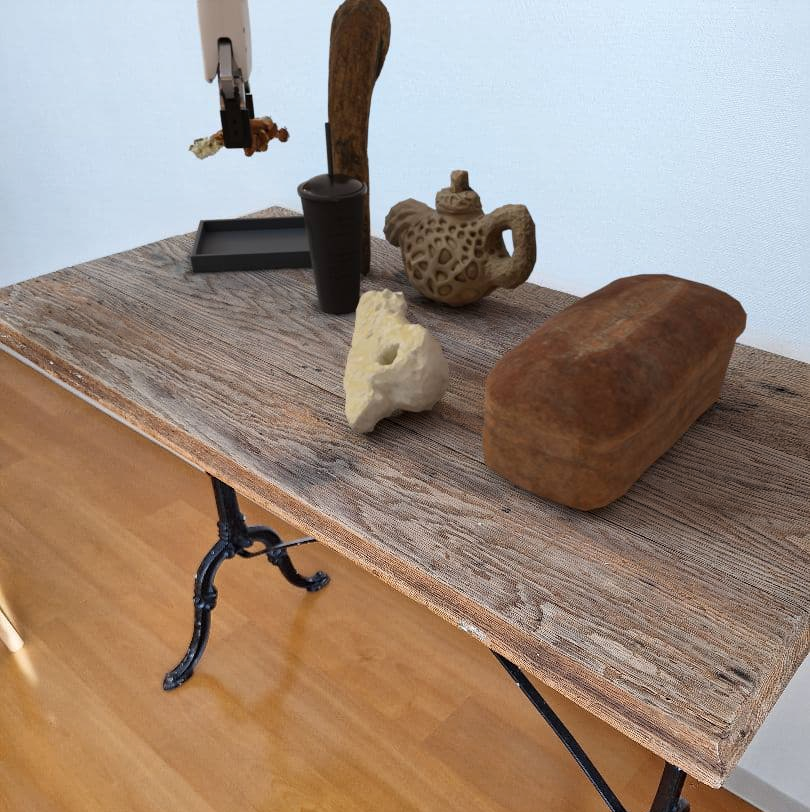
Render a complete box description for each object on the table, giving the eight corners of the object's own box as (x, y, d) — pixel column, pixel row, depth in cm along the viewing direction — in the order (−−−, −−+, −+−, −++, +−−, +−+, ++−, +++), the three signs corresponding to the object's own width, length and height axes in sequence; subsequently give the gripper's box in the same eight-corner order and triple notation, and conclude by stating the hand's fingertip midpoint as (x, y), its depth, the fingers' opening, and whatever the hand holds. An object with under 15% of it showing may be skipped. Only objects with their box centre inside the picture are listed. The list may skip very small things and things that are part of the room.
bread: (740, 398, 80) (775, 277, 72) (600, 541, 63) (627, 403, 55) (613, 358, 86) (632, 243, 79) (456, 477, 70) (461, 346, 62)
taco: (180, 152, 96) (174, 118, 94) (267, 136, 102) (264, 104, 100) (208, 165, 92) (203, 130, 90) (297, 147, 98) (295, 115, 96)
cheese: (433, 470, 74) (506, 328, 75) (378, 432, 69) (456, 281, 71) (343, 446, 86) (407, 323, 87) (291, 411, 81) (360, 282, 82)
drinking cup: (358, 322, 94) (349, 134, 81) (297, 314, 96) (279, 129, 83) (379, 296, 99) (374, 116, 87) (321, 289, 101) (307, 112, 88)
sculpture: (396, 262, 108) (392, -8, 89) (389, 284, 102) (383, 0, 83) (345, 261, 109) (330, -9, 89) (335, 282, 103) (317, 0, 84)
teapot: (359, 294, 100) (353, 164, 90) (419, 267, 107) (419, 143, 97) (500, 344, 89) (511, 203, 80) (557, 310, 96) (573, 176, 86)
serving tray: (193, 272, 106) (190, 256, 105) (202, 234, 117) (199, 220, 115) (324, 266, 107) (323, 250, 106) (321, 229, 118) (320, 214, 117)
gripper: (191, -49, 92) (215, 122, 104) (171, -35, 79) (201, 160, 90) (258, -50, 93) (274, 121, 104) (249, -36, 79) (269, 158, 91)
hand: (240, 138), depth 97 cm, fingers closed on taco, 7 cm apart
